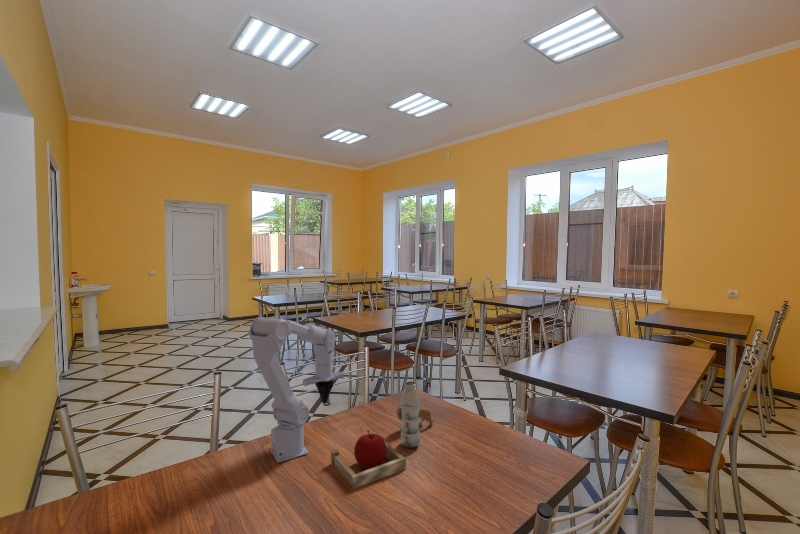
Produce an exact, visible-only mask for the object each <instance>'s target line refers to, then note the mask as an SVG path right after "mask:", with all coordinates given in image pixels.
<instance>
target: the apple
mask: <svg viewBox="0 0 800 534" xmlns="http://www.w3.org/2000/svg"><path fill="white" fill-rule="evenodd" d="M367 433H368V434H363V435H361V436H360V437H358V439H357V440H356V442H355V445H354V450H353V451H354V453H353V454H354V458H355V460H356V463H357V464H358V465H359V466H360V467H362V468H364V469H365V470H368V469H371V468H374V467H377V466H379V465H382V464H384V462H385V459H386V458H387V457H386V452H387V449H386V444H385V442H386V441H385V438H384V439H383V438H382V437H381V436H382V435H381V436H380V434H376V433H370V430H367ZM384 441H385V442H384Z"/></svg>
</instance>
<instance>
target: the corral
mask: <svg viewBox="0 0 800 534" xmlns="http://www.w3.org/2000/svg"><path fill="white" fill-rule="evenodd" d="M379 436H381V437H382V438H383V439H384V442H385V444H386V449H387V452H386V457H385V458H388V460H390V461H388V462H386V463H382V464H381V465H379V466H377V467H374V468H371V469H365V470H363V471H361V472H360V471H359V472H358V473H355V472H354V470H353V469H351V467H350V466H349V465H348V464H347V463H346V462H345V461H344V460H343V458H342V457H341V456H340V452H339V450H338V449H333V450H331V451H330V465H331V466H332V467H333V468H335V469H336V470H337V472H339V474H340V475H341V476H342V477H343V478H344V479H345V480H346V482H347V483H348V484H349V486H350V487H352V489H353V490H355V489H358V488H360V487H363V486H365V485H369V484H372V483H373V482H376V481H378V480H380V479H384V478H386V477H389V476H391V475H393V474H397V473H399V472H401V471H403V470H406V469H407V459H406V457H405V456H403V454H401V453H399V452H398V451H397V450H396V449H394V448H393V447H392V446H391V445H390V444H388V443H387V442H386V441H385V437H384V436H382V434H381V435H380V434H379Z"/></svg>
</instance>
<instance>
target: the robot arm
mask: <svg viewBox="0 0 800 534" xmlns="http://www.w3.org/2000/svg"><path fill="white" fill-rule="evenodd" d="M291 334H292V335H297V336H299V338H300V340H302V341H304V342H306V343H310V344H312V345H313V346H314V353H315V355H314V359H315V361H314V362H315V363H314V365H315V375H312V376H310V377H305V378H302V385H303V387H307V386H311V385H314V384H315V386H316V389H317V391H318V393H319V396H320V400H321V403H323V404H327V403H328V402H329V401H328V400H329V397H330V393H331V391H332V389H333V387H334V385H335V384H334V381H333V380H339V379H341V380H343V379H345V372H344V371H338V372H337V371H336V372H333V350H334V347H335V346H334V345H335V343H336V342H335V341H336V338H337V337H336V335H335V334H336V333H335V332H334V331H333V330H332V329H327V328H324V326H322V325H316V323H315V322H309V323H308V322H307V323H305V324H303V325H302V324H300V323H298V322H295V321H293V320H290V319H285V318H284V319H283V318H271V317H263V316H258V317H256V318H255V319H253V321H252V322H251V325H250V327H249V330H248V336H249V338H250V339H251V343H252V352H253V358H254V360H255V363H256V365H257V367H258V369H259V371H260V373H261V375H262V377H263V379H264V381H265V383H266V385H267V387H268V389H269V391H270V393H271V395H272V398H273V399H274V400H273V401H272V404H271V408H272V412H273V413H272V414H273V415H272V416H273V418H274V420H276V422H277V423H276V424H277V426H274V427H273V428H271V431H270V454H271V455H272V456H273V457H274V459H275V462H276V463H282V462H285V461H289V460H292V459H296V458H298V457H302V456H304V455H307V454H309V451H308V450H307V448H306V447H305V441H304V440H305V435H304V434H305V433H304V432H305V431H304V430H305V428H304V425H305V424H306V422H307V421H308V419H309V417H310V408H309V406H308V405H307V404H305V403H304V401H303V399H301V398H300V397H299V396H297V395H296V394H295V393H294V391H293V390H292V389H293V388H292V387H291V385H290V382H289V380H288V378H287V376H286V374H285V371H284V369H283V367H282V365H281V363H280V360H279V359H278V357H277V353H279V352H280V350H281V349H282V347H283V345H284V343H285V342H286V340H287V338H288V336H291Z"/></svg>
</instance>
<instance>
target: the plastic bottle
mask: <svg viewBox="0 0 800 534" xmlns="http://www.w3.org/2000/svg"><path fill="white" fill-rule="evenodd" d="M400 406H401V408H402V421H401V422H402V423H401V424H402V425H401V430H400V441H401V442H400V443H401V444H402V445H403V446H404V447H406V448H416V447H418V446H419V444H420V443H421V440H422V439H421V438H422V437H421V431H420V425H419V423H420V421H419V419H420V418H419V408H421V407H420V406H421V397H420V395H419V393H418V392H417V383H416V382H415V381H412V380H411V381H409V380H408V381H406V382H404V392H403V393H402V394H401V396H400Z"/></svg>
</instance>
